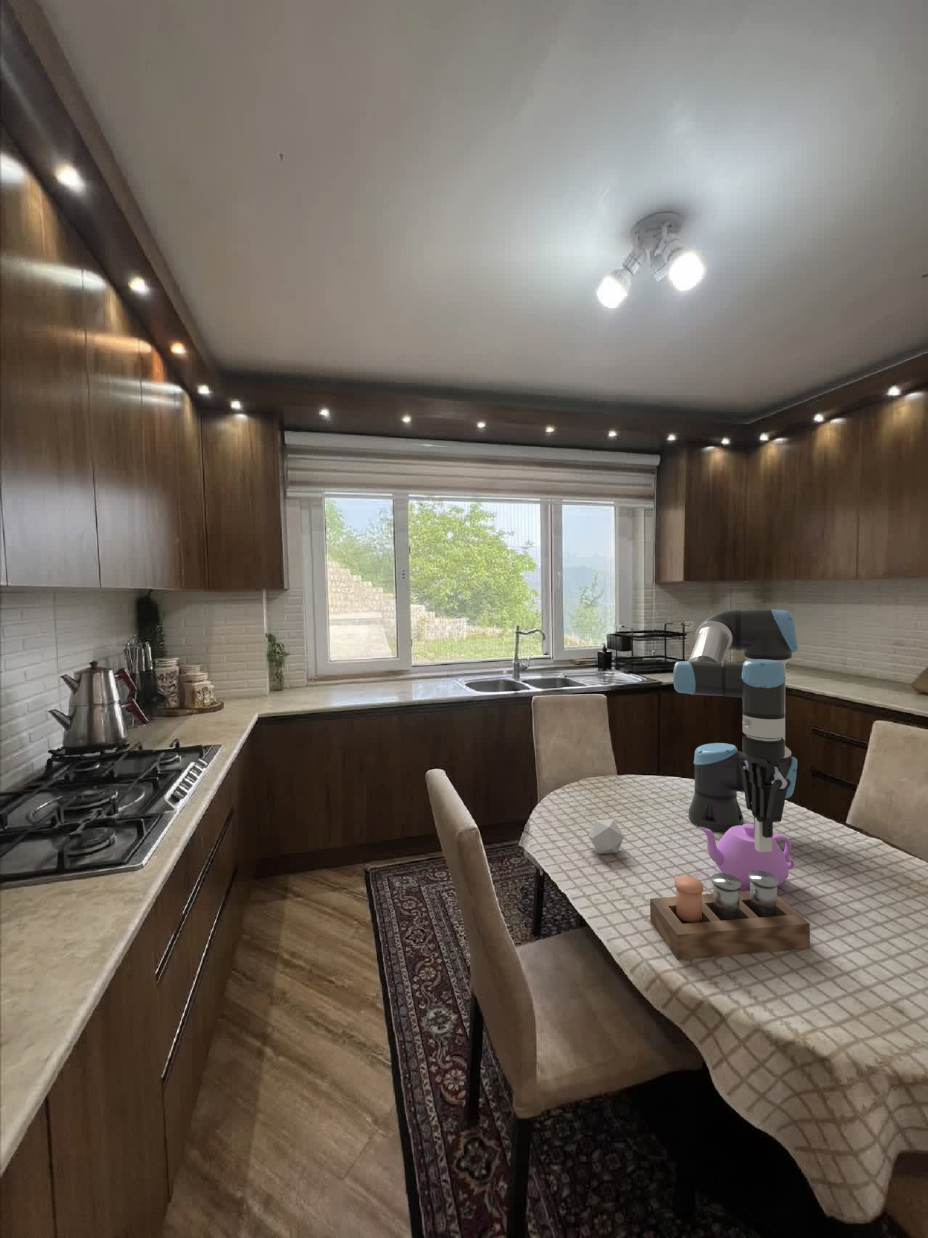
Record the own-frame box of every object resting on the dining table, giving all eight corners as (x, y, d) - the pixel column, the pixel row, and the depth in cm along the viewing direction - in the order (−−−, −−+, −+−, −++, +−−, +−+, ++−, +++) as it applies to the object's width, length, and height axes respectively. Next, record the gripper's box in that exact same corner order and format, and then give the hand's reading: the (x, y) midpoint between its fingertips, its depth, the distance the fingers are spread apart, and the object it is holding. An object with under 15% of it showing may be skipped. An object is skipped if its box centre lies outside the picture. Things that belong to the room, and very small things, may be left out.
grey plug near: (767, 900, 111) (767, 869, 111) (784, 916, 106) (784, 883, 105) (742, 902, 111) (742, 871, 110) (759, 918, 105) (759, 885, 105)
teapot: (712, 899, 120) (712, 840, 119) (688, 864, 135) (687, 812, 135) (812, 900, 118) (812, 841, 118) (776, 864, 134) (776, 812, 133)
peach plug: (694, 906, 110) (694, 875, 109) (708, 922, 104) (708, 889, 104) (670, 908, 109) (669, 876, 109) (682, 924, 104) (682, 891, 104)
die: (617, 865, 137) (633, 829, 140) (586, 846, 139) (602, 811, 141) (609, 860, 145) (623, 827, 148) (580, 843, 147) (595, 810, 149)
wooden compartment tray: (769, 911, 115) (769, 889, 114) (809, 948, 103) (809, 923, 103) (650, 921, 113) (650, 898, 112) (677, 960, 101) (677, 934, 100)
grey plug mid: (731, 903, 110) (731, 872, 110) (747, 919, 105) (747, 886, 105) (706, 905, 110) (706, 874, 110) (721, 921, 105) (721, 888, 104)
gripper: (726, 729, 112) (727, 836, 113) (766, 745, 99) (766, 867, 100) (760, 727, 113) (760, 834, 114) (804, 744, 100) (803, 865, 101)
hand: (763, 850), depth 107 cm, fingers closed
